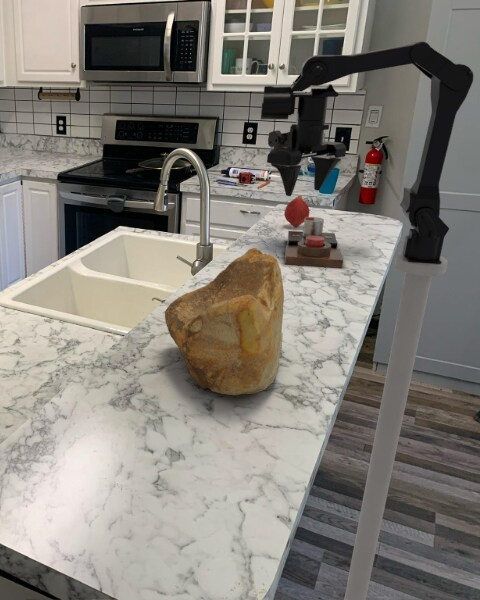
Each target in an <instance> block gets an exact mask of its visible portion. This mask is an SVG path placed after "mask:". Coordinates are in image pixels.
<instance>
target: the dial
mask: <svg viewBox="0 0 480 600" xmlns="http://www.w3.org/2000/svg"><path fill="white" fill-rule="evenodd" d="M324 221H325V219H324V218H322V217H319V216H309V217H305V220H304V223H303V229H302V232H303V237H305V238H306V237H307V236H321V237H322V233H323V231H324V230H323V229H324Z"/></svg>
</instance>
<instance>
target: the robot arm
mask: <svg viewBox="0 0 480 600" xmlns="http://www.w3.org/2000/svg"><path fill="white" fill-rule="evenodd" d="M411 64H412V65H413V66H414V67H415V68H416V69H417V70H418V71H420V72H421V73H422V74H423V75H424V76H425V77H427V78H428V79H429V80H430V104H431V113H430V118H429V121H428V122H429V123H428V127H427V131H426V136H425V140H424V143H423V149H422V153H421V157H420V162H419V166H418V170H417V175H416V179H415V181H414V183H413V184H412V185H411V187H403V192H402V193H403V194H402V195H403V196H402V200H401V202H400V203H399V206H400V208H402V209H401V211H402V214H403V216H404V217H405V218H406V219H407V220H408V222H409V223H410V226H411V227H412V228H409V230H408V235H405V237H404V242H403V247H402V252H401V253H403V255H404V256H405V258H406V260H407V261H408V262H416V263H431V264H441V263H442V261H441V260H440V256H441V257H442V255H441V254H442V250H443V245H444V241H445V237H446V235H447V234H448V233H449V231H450V227H449V226H448V225H447V224H446V223H445V222H444V220H442V219H441V217H440V214H441V192H440V181H441V177H442V173H443V169H444V166H445V162H446V157H447V153H448V148H449V144H450V142H451V141H450V140H451V138H452V137H451V136H452V132H453V128H454V124H455V120H456V115H457V113H458V112H459V110H460V108H461V107H462V105H463V104H464V102H465V100H466V98H467V96H468V94H469V92H470V89H471V87H472V85H473V83H474V77H475V75H474V72H473V71H472V69H471V68H470V67H469V66H468V65H466V64H462V63H454V62H453V61H452V60H450V59H449V58H448V57H446V56H445V55H443V54H441V53H440V52H438V50H435V49H434V48H433V47H432V46H431V45H430V43H428V42H426V41H413V42H411V43H408V44H404V45H403V44H402V45H397V46H393V47H386V48H381V49H376V50H369V51H364V52H359V53H352V54H314V55H311V56H309V57H308V58H306V59H305V60H304V62H302V64H301V67H300V74H299V75H298V76H297V78H296V79H295V80H294V81H292V83H291V85H290V86H273V85H264V86H263V97H262V101H261V108H260V120H289V117H290V116H292V115H295V111H296V112H297V113H296V121H295V123H293V124H291V125H290V128H289V131H287V132H281V130H279V129H278V130H272V131H269V132H268V137H267V145H268V146H269V147H270V148H272V149H270V150H269V151H268V152H267V156H266V163H267V164H270V165H271V167H274V168H275V169H276V170H277V171H278V172H279V175H280V178H281V180H282V185H283V189H284V194H285V196H286V197H291V196H292V195H293V193H294V190H295V188H296V184H297V181H298V178H299V175H300V171H301V169H302V165H301V164H300V163H301V161H302V159H307V158H311V160H312V163H313V164H314V178H313V179H314V180H313V188H314V191H320V190H321V188H322V187H323V186H324V184H325V182H326V181H327V179H328V178H329V176H330V175H331V173H332V171H334V169H335V167H336V166H337V164H338V163H339V162H341V160H342V158H344V157H346V154H347V153H346V152H347V147H346V145H345V144H344V143H343V142H336V141H329V140H326V141H324V135H325V131H327V130H330V124H328V123H326V119H327V118H326V117H327V108H328V101H329V100H328V99H329V98H338V97H339V92H338V91H336V90H335V88H334V86H333V84H331V82H334V81H337V80H340V79H342V78H345V77H347V76H351V75H355V74H360V73H365V72H371V71H377V70H382V69H383V70H384V69H389V68H394V67H401V66H405V65H411ZM328 83H330V84H328ZM326 84H328V85H327V86H326V87H319V86H322V85H326ZM312 86H313V88H310V87H312ZM315 87H316V88H315ZM317 87H318V88H317ZM309 88H310V91H309V93H308V92H307V93H305V92H304V91H306V90H307V89H309ZM294 92H296V93H294ZM297 92H304V93H297ZM296 98H298V102H297V110H296Z"/></svg>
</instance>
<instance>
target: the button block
mask: <svg viewBox="0 0 480 600" xmlns="http://www.w3.org/2000/svg"><path fill="white" fill-rule="evenodd" d="M305 242H306V240H302V241H299V242H298V246H290V245H287V244H286V245H285V249H284V251H285V252H284V258H285V259H284V264H285V265H293V266H308V267H309V266H310V267H323V268H325V267H326V268H336V269H337V268H338V269H339V268H340V269H342V268H343V265H344V264H343V263H344V259H343V255H342V251H341V248H339V247H337V248H331V244H330V243H327V242H325V241H324V246H323V247H310V246H306V245H305Z"/></svg>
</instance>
